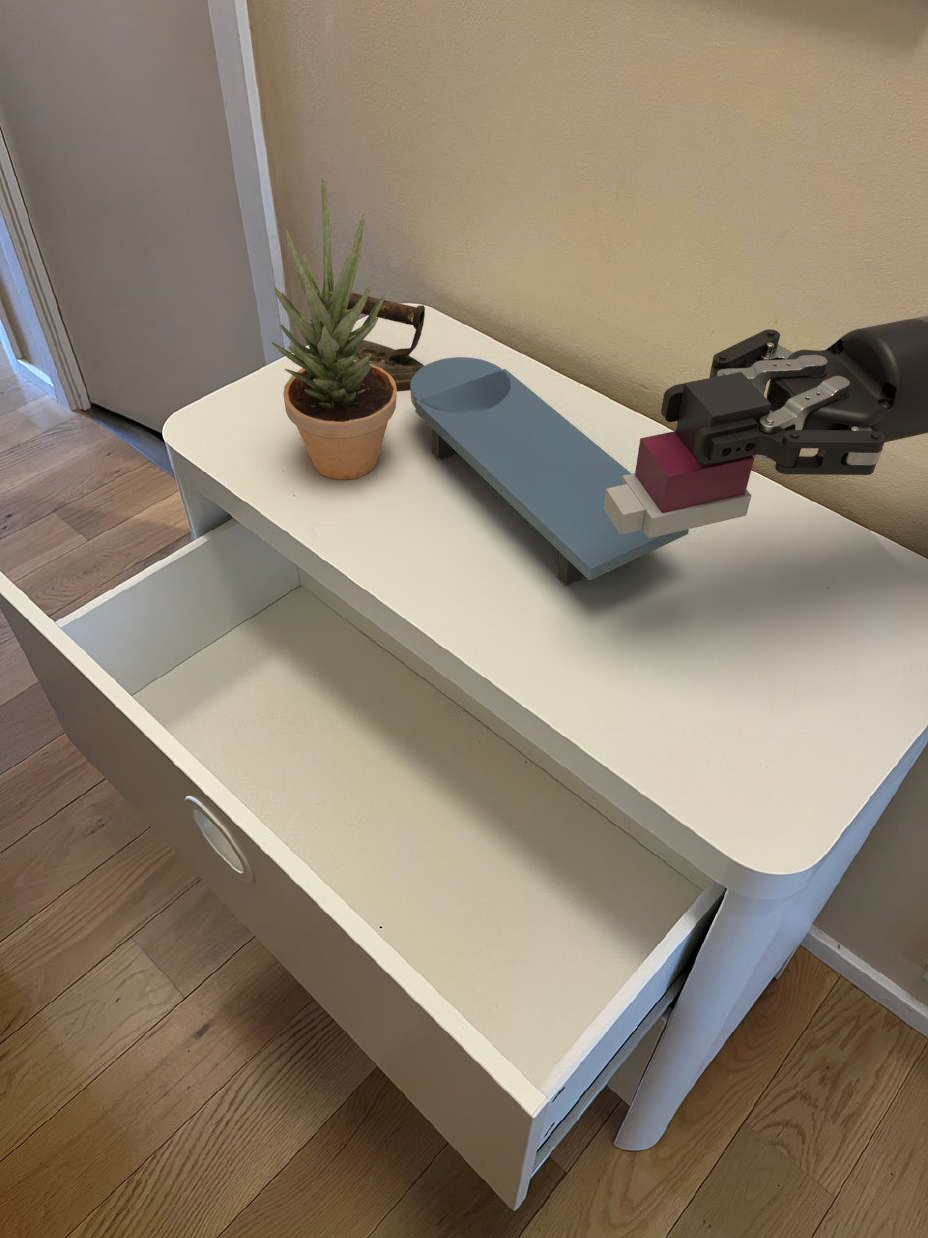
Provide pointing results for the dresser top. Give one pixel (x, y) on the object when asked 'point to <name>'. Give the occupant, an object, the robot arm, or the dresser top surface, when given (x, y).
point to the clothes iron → (389, 358)
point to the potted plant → (335, 368)
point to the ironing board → (530, 461)
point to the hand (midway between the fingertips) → (681, 425)
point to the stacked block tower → (689, 465)
